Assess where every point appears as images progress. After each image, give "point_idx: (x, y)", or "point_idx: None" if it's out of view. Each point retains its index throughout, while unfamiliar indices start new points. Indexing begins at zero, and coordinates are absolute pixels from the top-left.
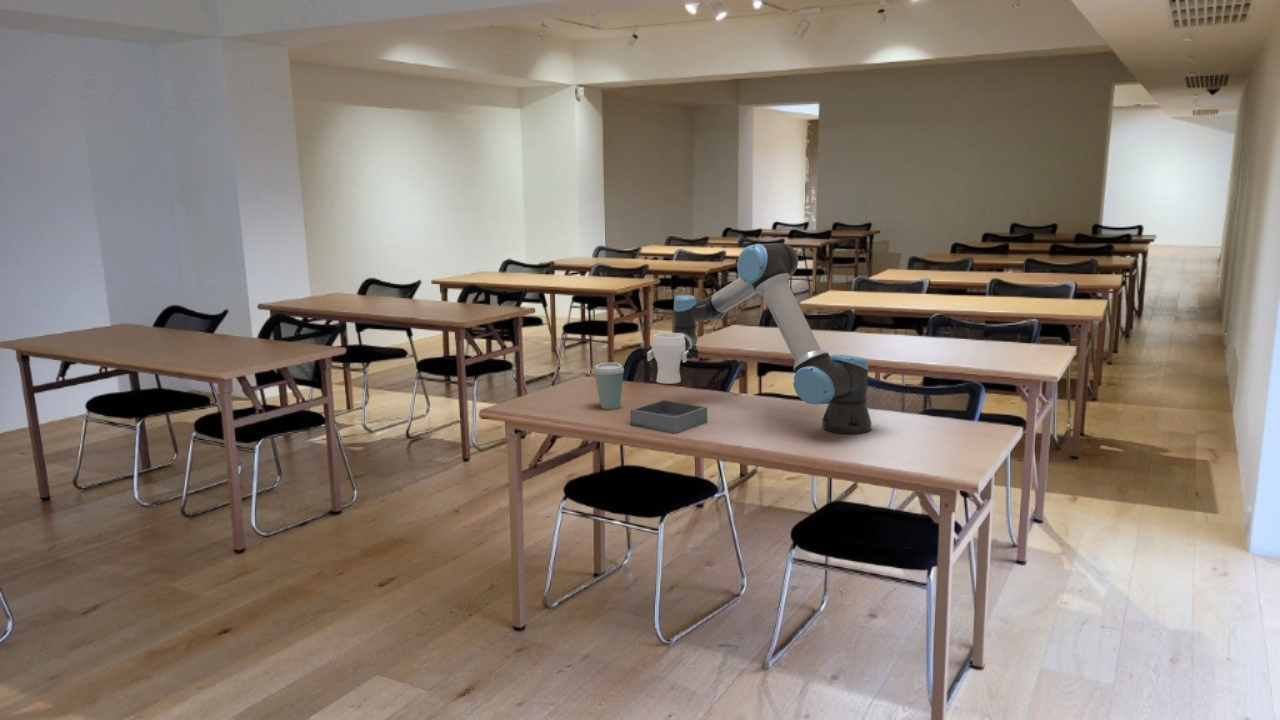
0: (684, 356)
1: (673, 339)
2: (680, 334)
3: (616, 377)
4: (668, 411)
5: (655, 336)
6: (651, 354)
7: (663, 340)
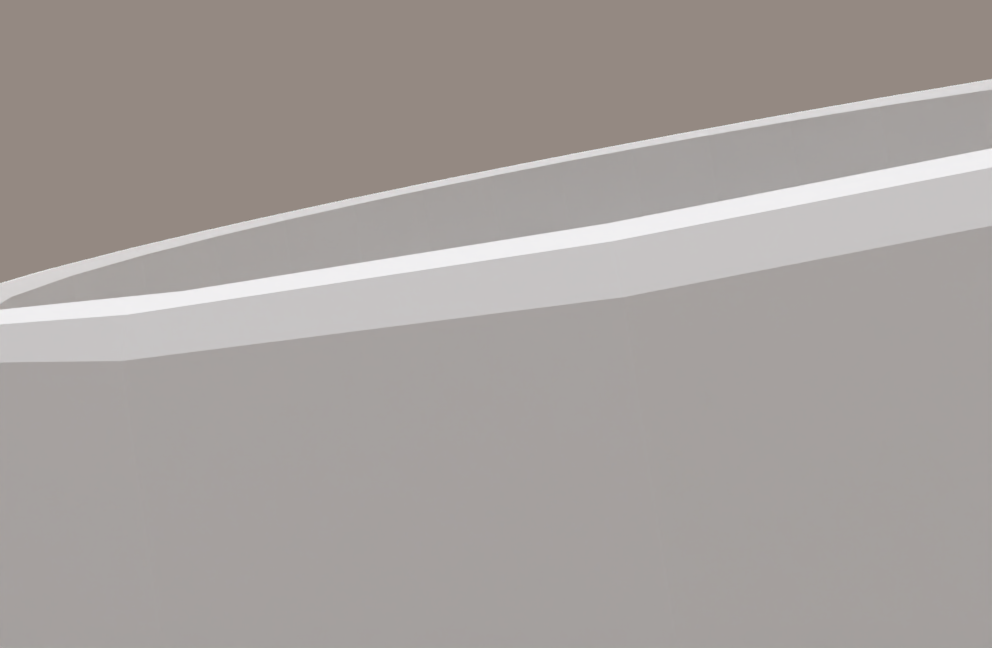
0: None
1: (346, 242)
2: (32, 362)
3: None
4: None
5: (730, 131)
6: None
7: (526, 220)
